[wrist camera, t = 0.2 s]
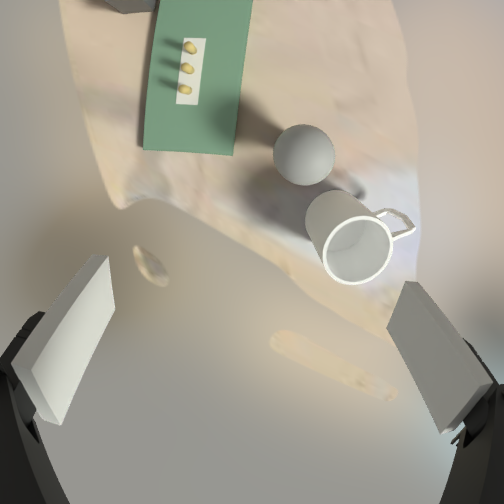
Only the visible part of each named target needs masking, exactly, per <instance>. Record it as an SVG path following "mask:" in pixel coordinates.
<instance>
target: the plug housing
mask: <svg viewBox="0 0 504 504" xmlns="http://www.w3.org/2000/svg"><path fill="white" fill-rule="evenodd" d="M105 2H107V3H108V4H110V5H111V6H112V7H114V8H115V9H117V10H118V11H120V12H121V13H123V14H128V13H139V12H153V11H154V10H155V5H156V0H105Z"/></svg>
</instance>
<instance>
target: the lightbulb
mask: <svg viewBox="0 0 504 504" xmlns="http://www.w3.org/2000/svg"><path fill="white" fill-rule="evenodd" d="M273 159H274V163H275V166H276V168H277V170H278V171H279V173H280V174H281V175H282V176H283V177H284V178H285V179H286V180H288V181H290V182H292V183H294V184H298V185H312V184H316V183H318V182H320V181H322V180H323V179H324V178H326V177H327V175H328V174H329V173H330V171H331V170H332V168H333V165H334V162H335V150H334V146H333V144H332V142H331V140H330V138H329V137H328V136H327V134H326V133H324V132H323V131H322V130H320V129H319V128H317V127H314V126H311V125H305V124H303V125H296V126H292V127H290V128H288V129H286V130H285V131H284V132H283V133H282V134H281V135H280V136H279V137H278V139H277V141H276V142H275V145H274V149H273Z"/></svg>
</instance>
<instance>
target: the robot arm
mask: <svg viewBox="0 0 504 504" xmlns="http://www.w3.org/2000/svg"><path fill="white" fill-rule="evenodd" d="M114 310H115V304H114V298H113V291H112V283H111V275H110V266H109V257H108V256H104V255H95V254H93V255H92V256H91V257H90V258H89V259H88V260H87V262H86V263H85V264H84V265H83V266H82V268H81V269H80V270H79V271H78V272H77V274H76V275H75V276H74V277H73V278H72V280H71V281H70V282H69V283H68V285H67V286H66V287H65V289H64V290H63V291H62V292H61V294H60V295H59V296H58V297H57V299H56V300H55V301H54V303H53V304H52V305H51V307H50V308H49V309H48V311H47V312H46V313H45V312H40V311H39V312H37V313H36V314H34V315H33V316H31V317H30V318H29V319H28V320H27V321H26V323H25V324H24V325H23V327H22V330H20V331H19V332H18V333H17V335H16V337H14V339H13V340H12V342H11V343H10V345H9V346H8V347H7V349H6V350H5V352H4V353H3V355H2V356H1V357H0V504H70V503H69V501H68V499H67V497H66V495H65V493H64V491H63V489H62V487H61V485H60V483H59V481H58V478H57V476H56V474H55V472H54V470H53V467H52V465H51V462H50V460H49V458H48V455H47V453H46V450H45V447H44V445H43V442H42V439H41V437H40V434H39V431H38V428H37V425H36V422H35V421H34V419H33V416H34V414H35V412H36V410H37V411H38V413H39V415H40V416H41V418H42V419H43V420H46V421H48V422H51V423H55V424H57V425H60V426H61V425H62V423H63V420H64V417H65V415H66V413H67V410H68V408H69V405H70V403H71V401H72V398H73V396H74V394H75V391H76V389H77V387H78V385H79V382H80V380H81V378H82V376H83V373H84V371H85V369H86V367H87V365H88V363H89V361H90V359H91V356H92V354H93V352H94V350H95V348H96V346H97V344H98V342H99V340H100V338H101V336H102V334H103V332H104V330H105V328H106V326H107V324H108V322H109V320H110V318H111V316H112V314H113V312H114ZM387 330H388V332H389V334H390V335H391V337H392V339H393V341H394V343H395V344H396V346H397V348H398V350H399V352H400V354H401V355H402V358H403V359H404V361H405V363H406V365H407V367H408V369H409V371H410V373H411V375H412V376H413V379H414V381H415V383H416V385H417V387H418V389H419V391H420V393H421V395H422V397H423V399H424V401H425V403H426V405H427V407H428V409H429V411H430V413H431V415H432V418H433V420H434V422H435V424H436V426H437V428H438V430H439V433H440V434H443V433H447V432H450V431H454V430H455V429H456V428H457V427H458V426H459V424H460V423H461V422H462V421H463V422H464V424H465V427H464V428H463V429H462V430H461V431H460V433H459V434H458V435H457V436H456V437H455V438H454V439H453V440H452V442H451V444H454V443H455V442H456V440H458V439H459V442H458V443H457V445H456V446H457V450H456V454H455V458H454V461H453V465H452V468H451V472H450V474H449V478H448V481H447V484H446V487H445V490H444V492H443V495H442V498H441V501H440V503H439V504H504V384H500V385H499V384H498V382H497V381H496V379H495V378H494V376H493V375H492V374H491V372H490V371H489V369H488V368H487V366H486V365H485V363H484V362H482V359H481V358H480V357H479V355H477V352H476V351H475V350H474V348H473V347H472V345H471V344H470V343H468V342H467V341H466V340H464V338H462V337H461V336H460V334H459V333H458V332H457V330H456V329H455V328H454V326H453V325H452V324H451V322H450V321H449V320H448V318H447V317H446V316H445V315H444V313H443V312H442V311H441V310H440V308H439V307H438V306H437V304H436V303H434V301H433V300H432V298H431V297H430V296H429V295H428V293H427V292H426V291H425V290H424V289H423V287H422V286H421V285H420V284H419V283H418V282H410V281H405V283H404V286H403V289H402V291H401V294H400V296H399V299H398V302H397V304H396V307H395V309H394V311H393V314H392V316H391V319H390V321H389V323H388V326H387Z"/></svg>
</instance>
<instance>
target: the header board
mask: <svg viewBox="0 0 504 504" xmlns="http://www.w3.org/2000/svg"><path fill="white" fill-rule="evenodd" d="M252 3H253V0H160V5H159V10H158V16H157V22H156V28H155V34H154V40H153V47H152V54H151V62H150V70H149V79H148V88H147V98H146V110H145V123H144V140H143V150H155V151H176V152H192V153H205V154H218V155H229V156H233V149H234V140H235V131H236V123H237V114H238V106H239V98H240V90H241V82H242V74H243V66H244V59H245V52H246V44H247V37H248V30H249V23H250V16H251V10H252Z"/></svg>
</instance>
